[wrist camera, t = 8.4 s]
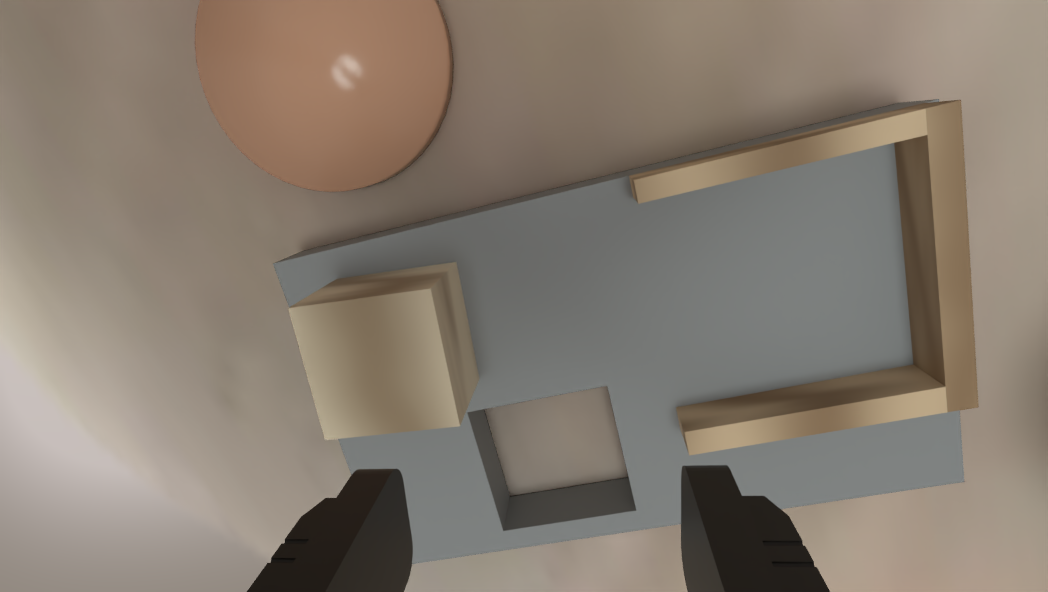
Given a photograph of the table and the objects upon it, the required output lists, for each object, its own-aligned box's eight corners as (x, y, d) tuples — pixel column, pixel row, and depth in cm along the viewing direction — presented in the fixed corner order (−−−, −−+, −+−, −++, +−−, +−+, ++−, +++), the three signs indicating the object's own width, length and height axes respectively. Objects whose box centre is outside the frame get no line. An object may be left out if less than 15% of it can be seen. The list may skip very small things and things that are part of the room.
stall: (680, 429, 23) (689, 455, 21) (628, 175, 21) (633, 180, 19) (943, 383, 22) (978, 407, 20) (923, 102, 19) (960, 99, 17)
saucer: (265, 213, 25) (250, 216, 24) (176, -32, 23) (154, -41, 21) (482, 156, 24) (476, 157, 22) (410, -114, 21) (401, -128, 20)
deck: (401, 532, 29) (386, 567, 27) (302, 251, 25) (272, 263, 23) (927, 448, 25) (964, 481, 23) (899, 102, 22) (938, 99, 19)
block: (365, 391, 24) (325, 440, 20) (336, 278, 23) (287, 308, 19) (479, 378, 24) (460, 426, 20) (456, 262, 22) (430, 288, 18)
